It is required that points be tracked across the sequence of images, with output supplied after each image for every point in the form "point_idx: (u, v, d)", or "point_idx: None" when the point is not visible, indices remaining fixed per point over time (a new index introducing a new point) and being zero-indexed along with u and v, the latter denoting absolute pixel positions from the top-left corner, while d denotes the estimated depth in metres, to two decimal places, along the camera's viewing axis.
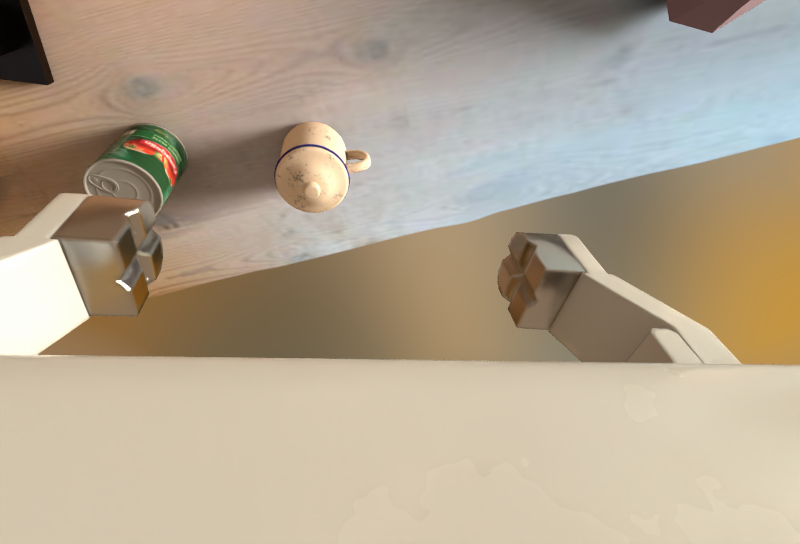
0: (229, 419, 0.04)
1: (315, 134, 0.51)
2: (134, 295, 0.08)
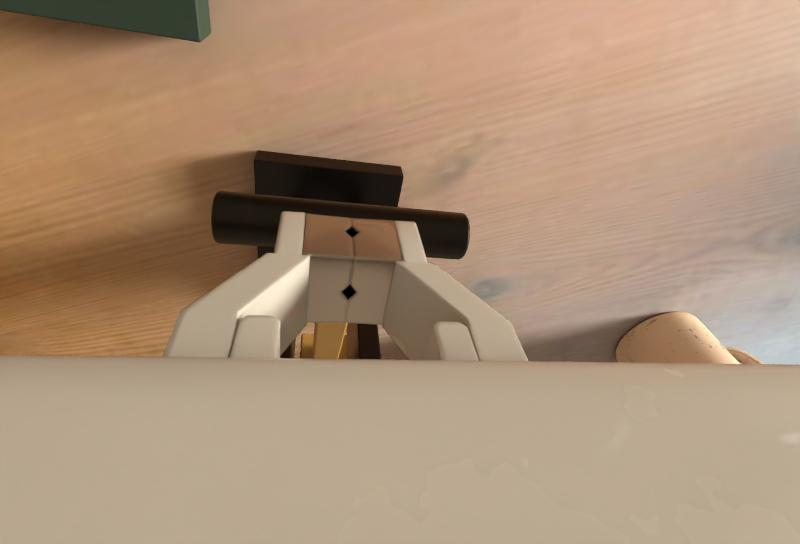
0: (229, 419, 0.04)
1: (713, 347, 0.37)
2: (346, 303, 0.09)
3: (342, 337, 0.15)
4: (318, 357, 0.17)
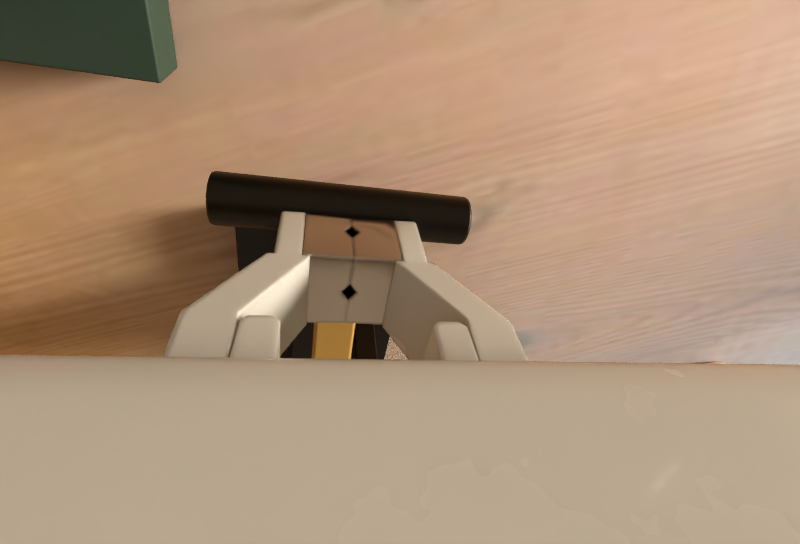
0: (229, 419, 0.04)
1: None
2: (347, 304, 0.09)
3: None
4: None
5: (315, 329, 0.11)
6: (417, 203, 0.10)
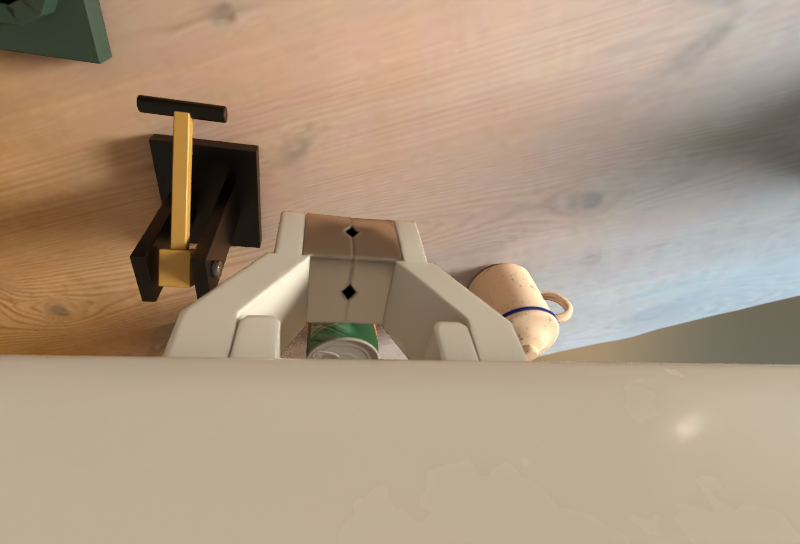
0: (229, 419, 0.04)
1: (522, 286, 0.49)
2: (347, 304, 0.09)
3: (186, 195, 0.31)
4: (174, 226, 0.31)
5: (173, 152, 0.31)
6: (205, 104, 0.31)
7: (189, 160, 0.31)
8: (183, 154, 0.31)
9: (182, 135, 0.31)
